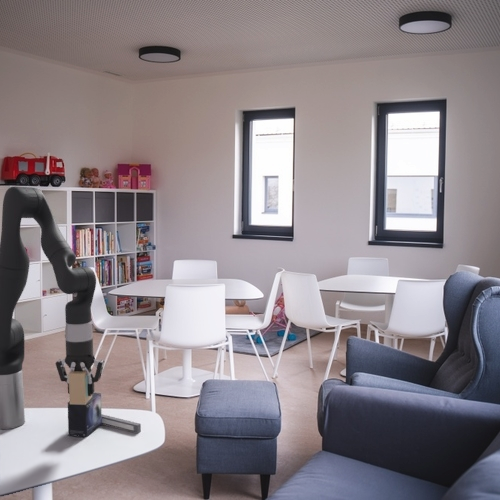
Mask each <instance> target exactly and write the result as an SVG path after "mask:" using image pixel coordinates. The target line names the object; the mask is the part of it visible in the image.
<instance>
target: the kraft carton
mask: <svg viewBox="0 0 500 500" xmlns="http://www.w3.org/2000/svg"><path fill="white" fill-rule="evenodd" d="M88 372H89V370H88ZM68 374H69V393H68V395H69V401H70V404H77V405H86V403H87V402H88V401H89V400H90V399H91V398H92V395H91V396H88V381H87V375H86V372H83V371H74V372H70V373H69V372H68Z"/></svg>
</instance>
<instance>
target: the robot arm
mask: <svg viewBox="0 0 500 500" xmlns="http://www.w3.org/2000/svg"><path fill="white" fill-rule="evenodd" d="M1 216H2V217H1V233H0V234H1V235H0V429H2V430H6V429H8V430H10V429H14V428H19V427H21V426H22V425H24V424H25V422H26V418H25V417H26V416H25V397H24V377H23V376H24V375H23V364H24V360H25V332H24V328H23V326H22V324H21V322H19V320H17V319H16V318H13V316H14V311H15V309H16V306H17V304H18V301H19V300H20V298H21V297H22V294H23V292H24V290H25V288H26V285H27V282H28V277H29V271H30V270H29V269H30V258H29V255H28V252H27V250H26V247H25V245H24V243H23V241H22V237H21V222H22V219H34V221H35V222H36V223H37V224H38V226H39V227H40V230H41V232H40V246H41V249H42V251H43V253H44V255H45V257H46V258H47V259H48V261H49V263H50V265H51V266H52V269H53V273H54V278H55V281H56V284H57V287H58V289H59V290H60V291H61V292H62V293H64V294H66V295H73V294H76V295H75V298H73V299H72V300H70V301H68V302H67V303H66V304H65V308H64V313H65V314H64V315H65V329H64V331H65V332H64V333H65V334H64V338H65V355H66V356H65V358H64V359H58V360H57V361H56V362H55V366H56V370H57V373H58V376H59V378H60V379H59V380H60V381H61V382H65V383H67V394H69V373H70V372H74V371H83V372H86V375H87V381H88V396H91V395H92V394H93V393H95V383H97V382H98V381H99V380H101V377H102V373H103V370H104V369H103V368H104V365H105V360H104V359H101V360H100V359H96V358H95V357H96V356H95V355H94V337H93V336H94V335H93V332H94V331H93V325H92V324H93V323H92V304H93V299H94V296H95V295H94V294H95V291H96V286H97V276H96V273H95V271H94V270H93V269H92V268H91V267H89V266H77V267H73V265H75V263H76V261H77V258H76V257H77V256H76V254H75V252H74V251H73V249H72V248H71V246H70V245H69V243H68V242H67V240H66V238H65V237H64V235H63V234H62V232H61V230H60V228H59V226H58V225H59V224H58V223H57V221H56V219H55V216H54V214H53V212H52V209H51V207H50V204H49V202H48V200H47V198H46V196H45V194H44V193H43V192H42V190H40V189H38V188H37V187H32V186H31V187H30V186H29V187H27V186H10V187H9V188H8V189H7V190H6V191H5V193H4V196H3V202H2V215H1ZM71 267H73V268H71ZM93 365H94V366H95V367H94V368H96V370H95V374H93V372H94V371H93V369H92V366H93ZM65 366H67V367H68V368H69V371H68V374H67V370H66V367H65ZM88 370H89V372H88Z"/></svg>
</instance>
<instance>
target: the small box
mask: <svg viewBox="0 0 500 500" xmlns="http://www.w3.org/2000/svg"><path fill="white" fill-rule="evenodd" d="M67 423H68V424H67V427H68V429H67V430H68V431H67V436H72V437H80V438H87V437H89V436H90V435H91V434H92V433H94V431H96V430H97V429H98V428H100V427H101V426H102V425H103V424H102V393H100V392H94V393H93V394H92V398H91V399H90V400H89V401H88V402H87V403H86V405H77V404H70V400H69V401H68V402H67Z"/></svg>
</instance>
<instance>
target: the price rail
mask: <svg viewBox="0 0 500 500" xmlns="http://www.w3.org/2000/svg"><path fill="white" fill-rule="evenodd" d="M101 414H102V413H101ZM102 425H103V426H106V427H107V426H108V427H111V428H115V429H118V430H119V429H120V430H124V431H128V432H131V433H134V434H135V433H136V434H139V433H141V431H142V430H141V429H142V428H141V425H142V424H141V423H138V422H134V421H131V420H126V419H122V418H119V417H115V416H110V415H107V414H102Z"/></svg>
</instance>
